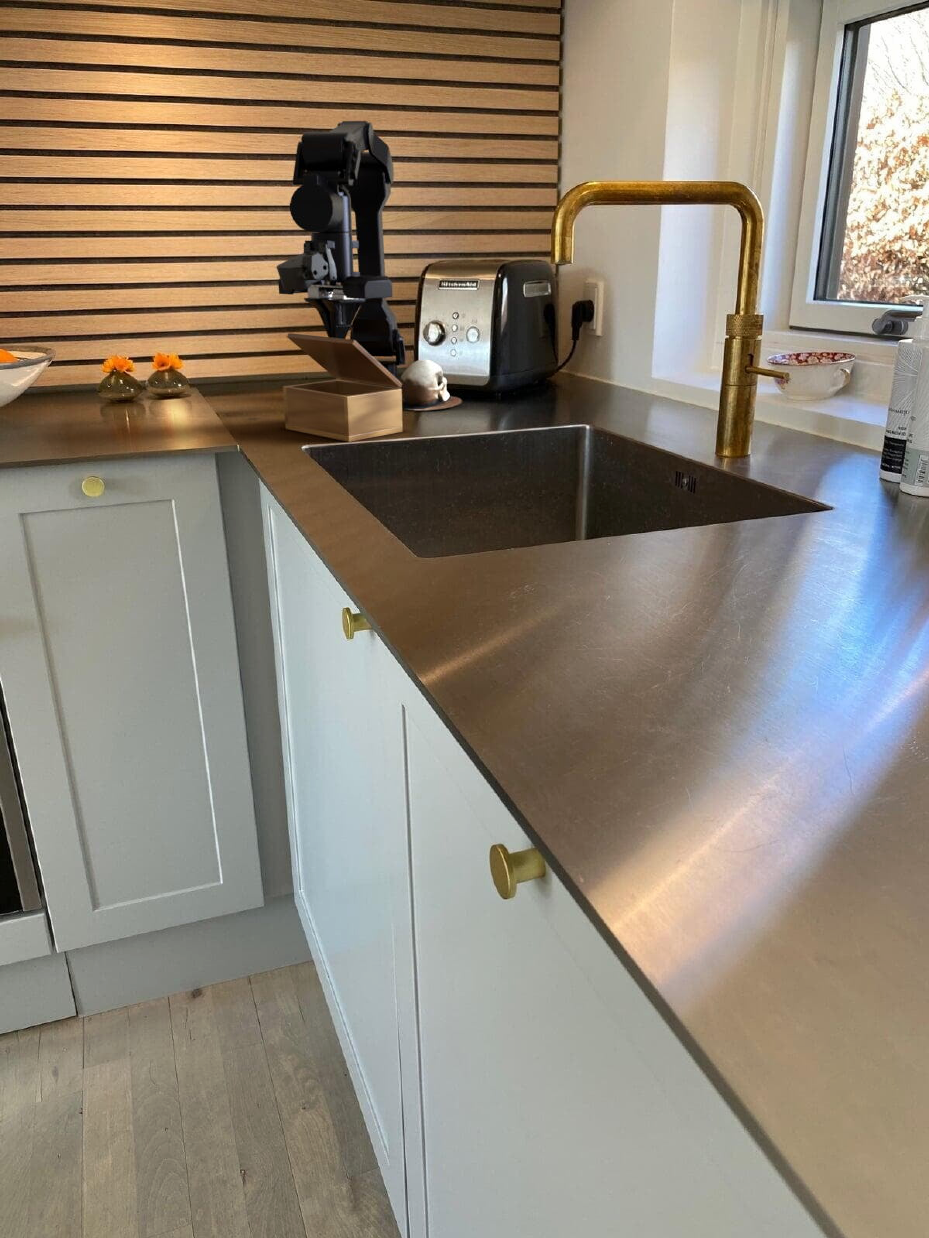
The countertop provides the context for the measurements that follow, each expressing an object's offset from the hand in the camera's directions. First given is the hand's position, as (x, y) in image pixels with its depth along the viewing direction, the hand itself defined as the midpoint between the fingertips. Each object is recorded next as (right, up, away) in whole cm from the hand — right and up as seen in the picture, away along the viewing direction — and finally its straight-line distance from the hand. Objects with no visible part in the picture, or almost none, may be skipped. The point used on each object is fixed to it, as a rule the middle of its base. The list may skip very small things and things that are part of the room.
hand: (336, 348), depth 137 cm
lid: (+1, -2, +2) cm, 2 cm away
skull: (+12, -2, +26) cm, 29 cm away
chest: (0, -11, +5) cm, 12 cm away
